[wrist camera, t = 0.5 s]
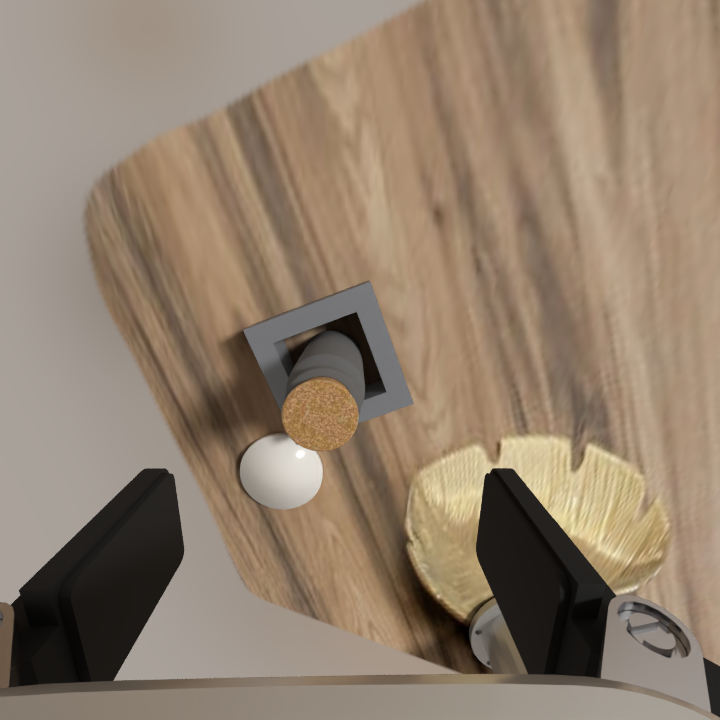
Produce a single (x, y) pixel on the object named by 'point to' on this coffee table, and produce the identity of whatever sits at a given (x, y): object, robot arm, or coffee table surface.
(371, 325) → the square frame
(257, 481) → the white round part
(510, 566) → the robot arm
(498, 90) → the coffee table surface
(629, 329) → the coffee table surface
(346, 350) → the bottle
